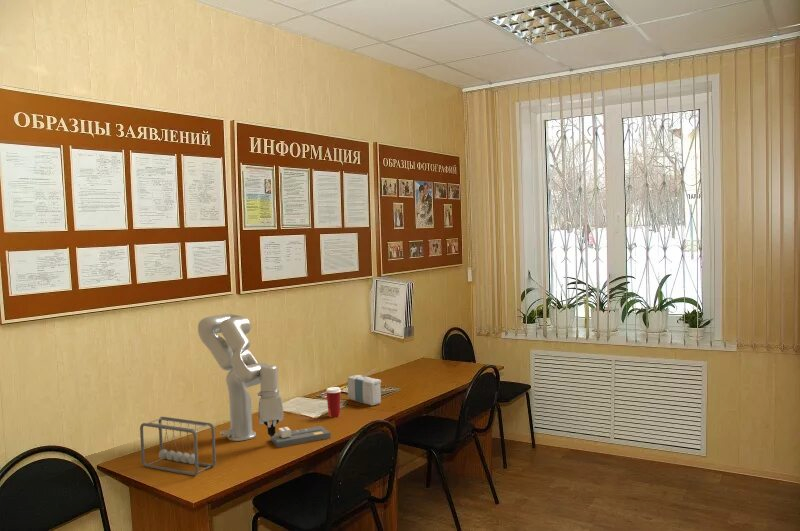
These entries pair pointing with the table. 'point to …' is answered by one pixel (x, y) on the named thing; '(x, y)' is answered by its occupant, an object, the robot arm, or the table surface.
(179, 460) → the newton's cradle
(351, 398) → the stereo radio cassette player
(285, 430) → the fader knob
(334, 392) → the paper cup
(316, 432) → the fader panel
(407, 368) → the table surface
